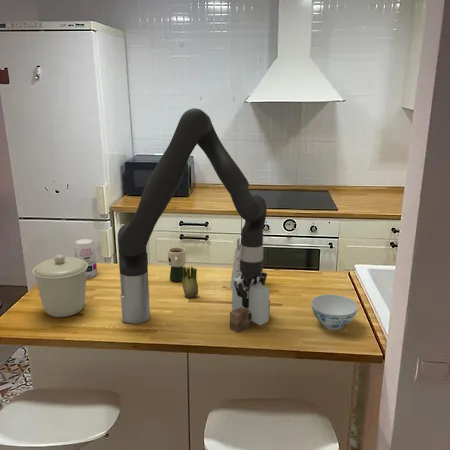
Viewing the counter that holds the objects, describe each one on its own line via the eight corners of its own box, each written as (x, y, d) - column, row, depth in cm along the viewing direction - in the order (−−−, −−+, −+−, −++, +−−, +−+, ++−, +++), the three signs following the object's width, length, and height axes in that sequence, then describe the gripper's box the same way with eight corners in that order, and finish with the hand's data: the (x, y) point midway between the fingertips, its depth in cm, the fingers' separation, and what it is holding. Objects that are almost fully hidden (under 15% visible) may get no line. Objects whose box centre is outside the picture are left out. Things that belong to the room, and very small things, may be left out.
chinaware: (354, 317, 162) (356, 296, 160) (356, 339, 148) (358, 317, 146) (311, 312, 165) (312, 292, 163) (308, 333, 151) (310, 312, 149)
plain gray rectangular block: (260, 325, 152) (261, 291, 148) (232, 311, 160) (232, 279, 157) (268, 321, 154) (269, 287, 151) (240, 307, 163) (240, 276, 160)
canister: (69, 327, 154) (63, 268, 148) (26, 317, 160) (18, 260, 154) (101, 303, 170) (97, 249, 164) (61, 295, 176) (55, 243, 170)
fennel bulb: (181, 295, 177) (180, 265, 174) (191, 291, 180) (191, 262, 177) (190, 300, 173) (189, 270, 170) (200, 296, 176) (200, 267, 173)
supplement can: (88, 269, 200) (85, 236, 196) (101, 274, 196) (98, 240, 191) (72, 275, 194) (69, 241, 190) (85, 280, 189) (82, 246, 185)
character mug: (169, 274, 196) (168, 245, 192) (186, 274, 197) (185, 245, 193) (167, 285, 186) (166, 254, 182) (185, 285, 186) (185, 254, 182)
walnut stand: (237, 332, 151) (237, 315, 150) (229, 328, 154) (229, 312, 152) (269, 316, 162) (270, 300, 160) (261, 312, 164) (262, 297, 163)
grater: (255, 291, 181) (257, 243, 175) (229, 288, 184) (230, 240, 178) (262, 281, 190) (263, 234, 184) (237, 277, 193) (238, 232, 187)
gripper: (244, 266, 144) (243, 316, 149) (274, 254, 153) (272, 302, 158) (227, 259, 149) (227, 308, 154) (257, 249, 158) (256, 295, 163)
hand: (250, 304), depth 156 cm, fingers closed on plain gray rectangular block, 4 cm apart
